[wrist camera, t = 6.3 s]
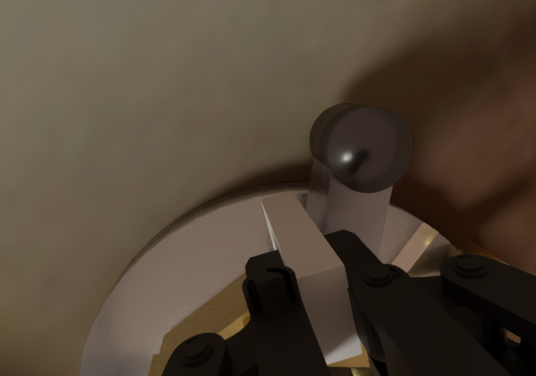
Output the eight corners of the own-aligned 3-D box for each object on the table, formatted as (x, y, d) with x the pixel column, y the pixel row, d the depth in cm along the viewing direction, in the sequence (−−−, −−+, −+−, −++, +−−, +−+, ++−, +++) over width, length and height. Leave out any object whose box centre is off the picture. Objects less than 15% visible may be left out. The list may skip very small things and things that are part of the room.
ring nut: (406, 502, 22) (446, 594, 18) (146, 512, 20) (126, 617, 16) (510, 122, 17) (601, 134, 13) (166, 81, 15) (144, 80, 11)
